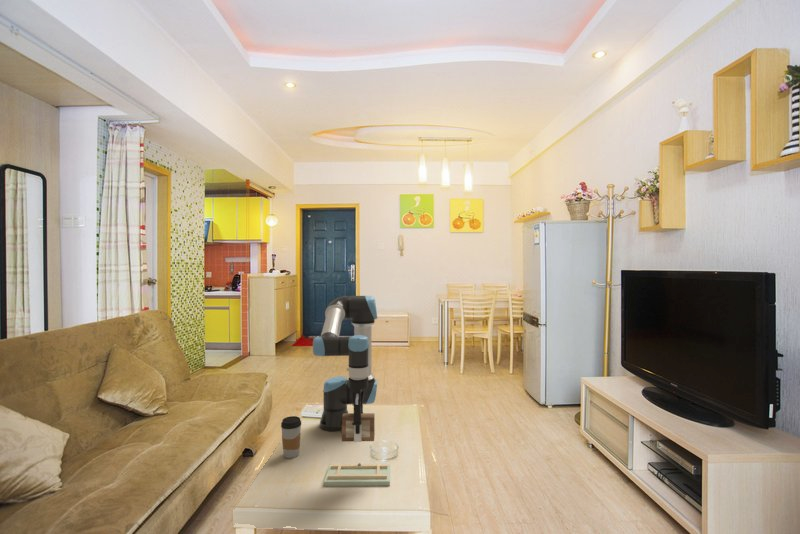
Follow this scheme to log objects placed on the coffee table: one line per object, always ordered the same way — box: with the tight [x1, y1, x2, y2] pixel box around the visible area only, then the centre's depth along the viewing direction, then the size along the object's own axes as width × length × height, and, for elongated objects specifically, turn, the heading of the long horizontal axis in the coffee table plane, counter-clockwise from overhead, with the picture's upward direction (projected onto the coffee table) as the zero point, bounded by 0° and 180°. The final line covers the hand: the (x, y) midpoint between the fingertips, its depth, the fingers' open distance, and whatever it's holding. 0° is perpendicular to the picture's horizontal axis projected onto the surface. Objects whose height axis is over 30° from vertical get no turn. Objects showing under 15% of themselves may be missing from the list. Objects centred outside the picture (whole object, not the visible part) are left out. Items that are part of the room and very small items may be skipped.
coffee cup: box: [280, 415, 302, 459], centre depth 164 cm, size 8×8×15 cm
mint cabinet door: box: [323, 462, 391, 487], centre depth 148 cm, size 12×24×3 cm, turn 91°
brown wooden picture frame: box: [341, 412, 376, 442], centre depth 147 cm, size 4×12×9 cm, turn 91°
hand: (358, 438), depth 148 cm, fingers closed on brown wooden picture frame, 4 cm apart
